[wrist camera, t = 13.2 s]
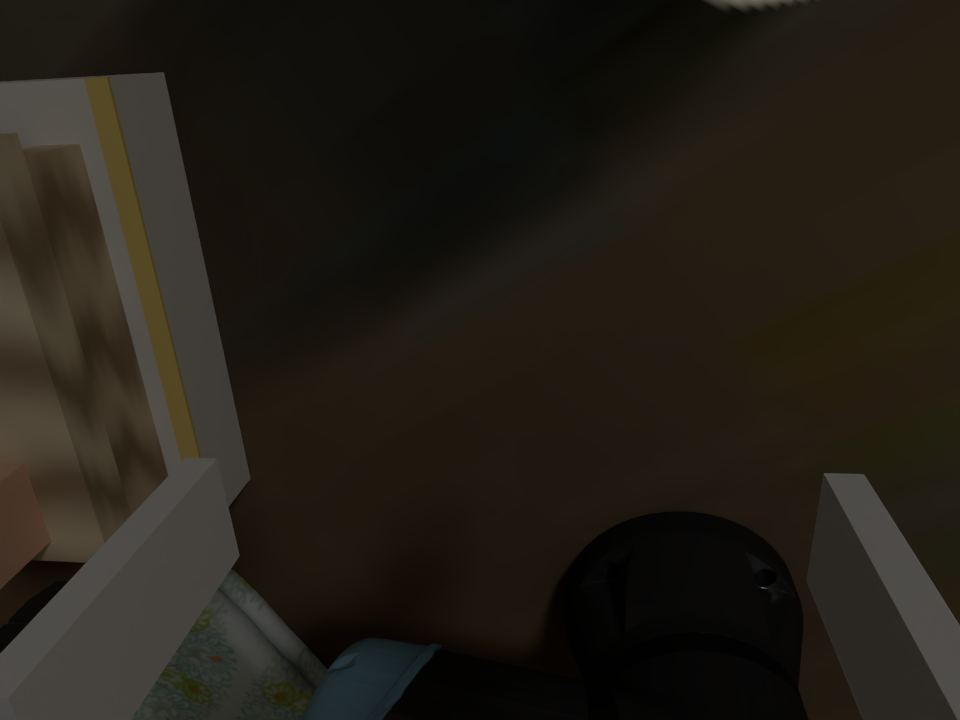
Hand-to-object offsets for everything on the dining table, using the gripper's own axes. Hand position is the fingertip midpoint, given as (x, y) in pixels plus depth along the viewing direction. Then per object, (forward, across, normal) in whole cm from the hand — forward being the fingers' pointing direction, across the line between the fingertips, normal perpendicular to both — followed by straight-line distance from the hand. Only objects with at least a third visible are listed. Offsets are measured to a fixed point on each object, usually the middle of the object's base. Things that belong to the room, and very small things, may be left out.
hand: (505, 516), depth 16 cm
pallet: (+22, +29, +4) cm, 36 cm away
